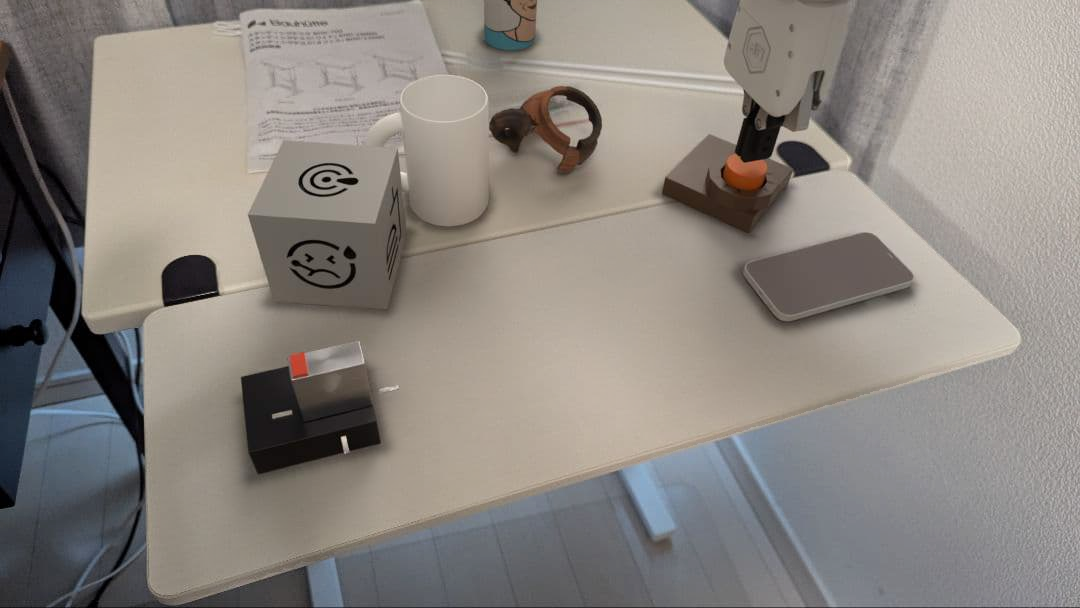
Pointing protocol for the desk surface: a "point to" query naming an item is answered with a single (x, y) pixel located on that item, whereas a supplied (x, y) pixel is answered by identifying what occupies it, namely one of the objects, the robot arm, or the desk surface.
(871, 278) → the smartphone
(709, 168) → the control block
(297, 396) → the red-banded grey bar
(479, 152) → the mug
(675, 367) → the desk surface
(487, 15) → the cup
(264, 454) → the switch panel
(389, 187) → the icon cube
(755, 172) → the power button
